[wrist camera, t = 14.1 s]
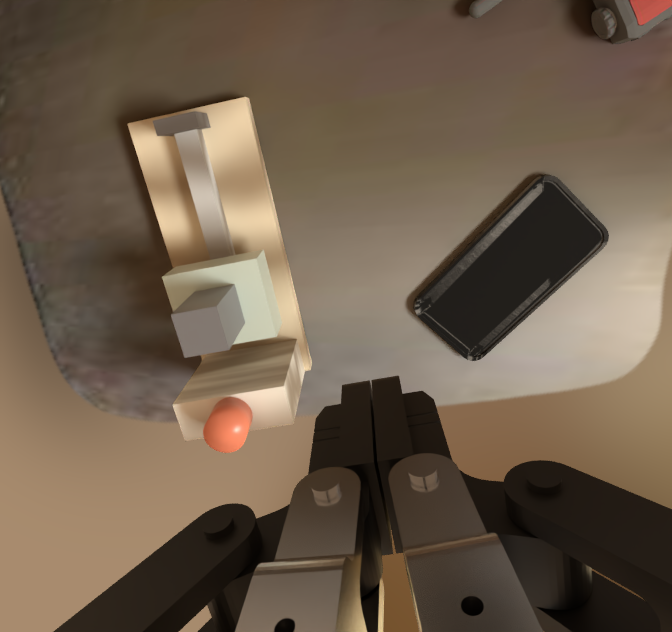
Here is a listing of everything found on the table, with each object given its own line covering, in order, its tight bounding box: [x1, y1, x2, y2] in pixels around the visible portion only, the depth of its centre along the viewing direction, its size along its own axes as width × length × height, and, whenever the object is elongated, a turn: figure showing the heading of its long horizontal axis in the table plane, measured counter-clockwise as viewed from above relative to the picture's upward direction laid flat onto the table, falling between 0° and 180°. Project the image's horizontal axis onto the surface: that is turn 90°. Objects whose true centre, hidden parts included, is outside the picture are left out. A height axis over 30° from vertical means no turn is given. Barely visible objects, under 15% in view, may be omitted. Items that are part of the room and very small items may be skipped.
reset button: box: [203, 397, 253, 453], centre depth 34 cm, size 3×3×2 cm
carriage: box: [162, 250, 282, 358], centre depth 36 cm, size 6×7×8 cm
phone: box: [414, 175, 609, 361], centre depth 41 cm, size 8×1×15 cm
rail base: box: [128, 97, 312, 441], centre depth 37 cm, size 22×9×10 cm, turn 11°
